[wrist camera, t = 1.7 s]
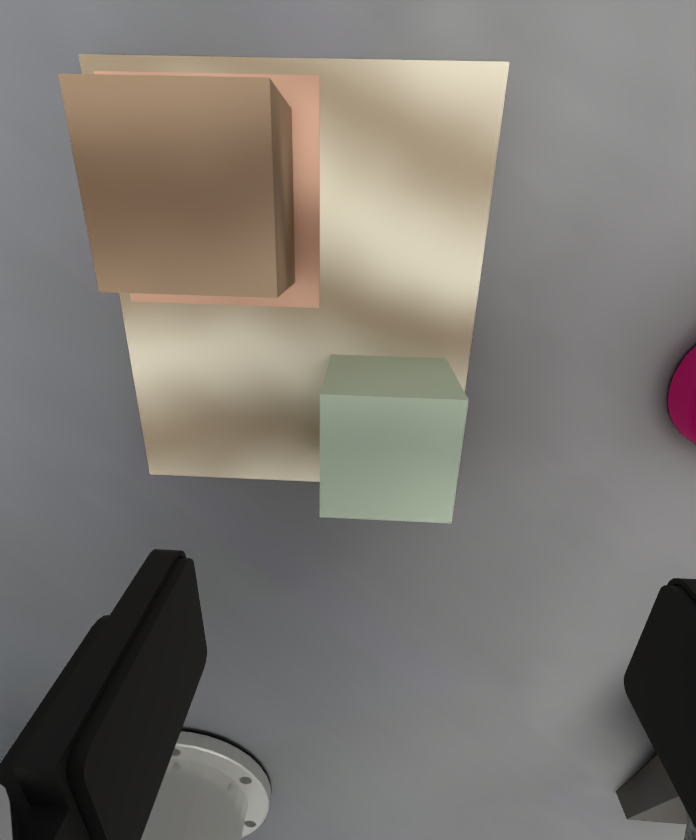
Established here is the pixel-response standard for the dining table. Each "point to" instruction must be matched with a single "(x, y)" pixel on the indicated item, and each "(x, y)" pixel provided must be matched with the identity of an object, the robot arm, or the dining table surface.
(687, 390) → the pepper mill
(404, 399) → the sage block
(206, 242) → the walnut base block
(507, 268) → the dining table surface
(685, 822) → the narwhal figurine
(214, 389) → the cream wavy board
